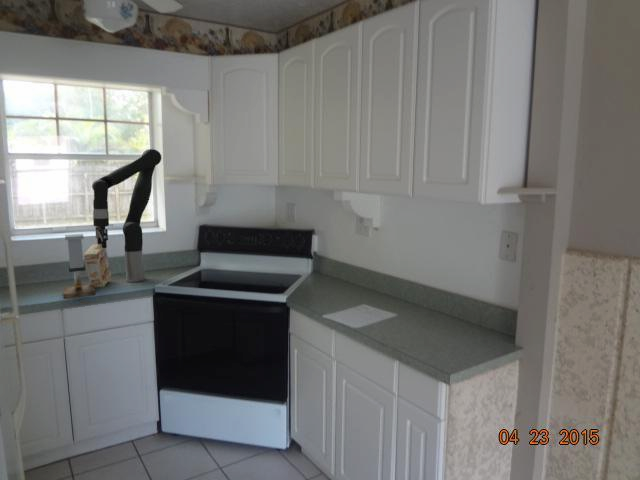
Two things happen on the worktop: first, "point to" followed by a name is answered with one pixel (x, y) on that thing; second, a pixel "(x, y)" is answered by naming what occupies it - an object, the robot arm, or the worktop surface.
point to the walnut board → (78, 291)
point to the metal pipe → (77, 280)
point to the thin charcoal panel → (76, 269)
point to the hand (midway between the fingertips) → (102, 247)
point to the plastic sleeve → (75, 250)
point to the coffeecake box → (97, 265)
